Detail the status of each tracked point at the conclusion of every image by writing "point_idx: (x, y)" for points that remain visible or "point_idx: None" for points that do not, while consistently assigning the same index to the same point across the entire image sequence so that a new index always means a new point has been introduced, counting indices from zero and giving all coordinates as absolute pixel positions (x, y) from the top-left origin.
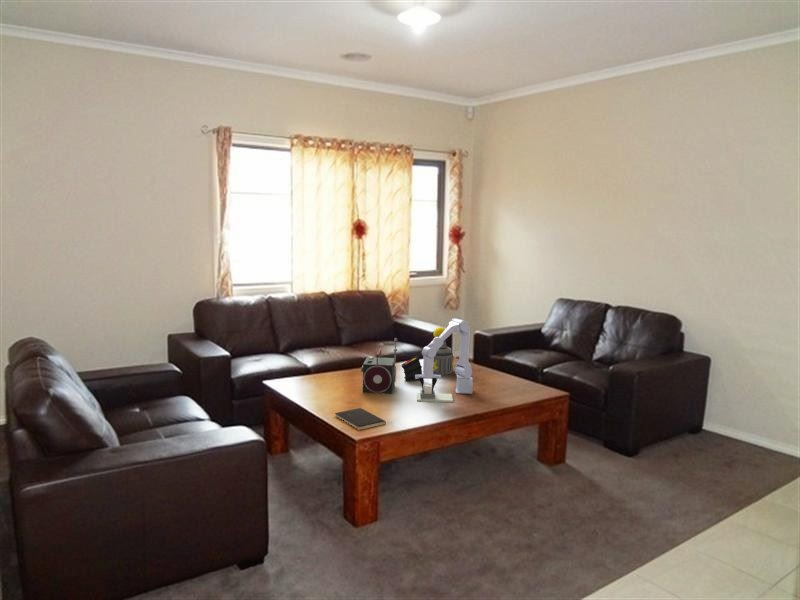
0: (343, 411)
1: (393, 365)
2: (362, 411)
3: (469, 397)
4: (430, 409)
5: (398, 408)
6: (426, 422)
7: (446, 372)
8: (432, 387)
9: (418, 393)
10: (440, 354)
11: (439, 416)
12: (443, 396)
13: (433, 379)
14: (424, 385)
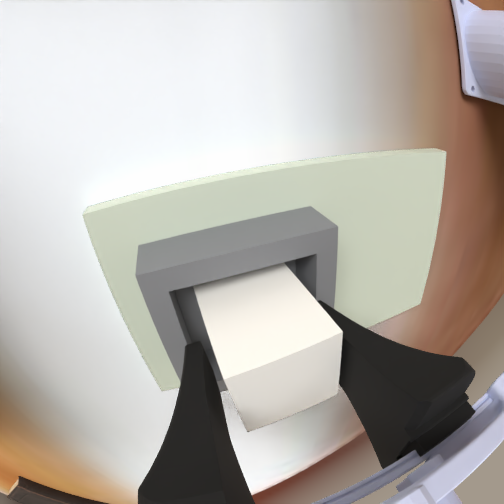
0: (11, 495)
1: None
2: (49, 500)
3: (495, 174)
4: (275, 432)
5: (115, 463)
6: (265, 484)
7: None
8: (339, 380)
9: (108, 231)
10: None
11: (310, 451)
12: (386, 242)
13: (406, 454)
14: (225, 381)
